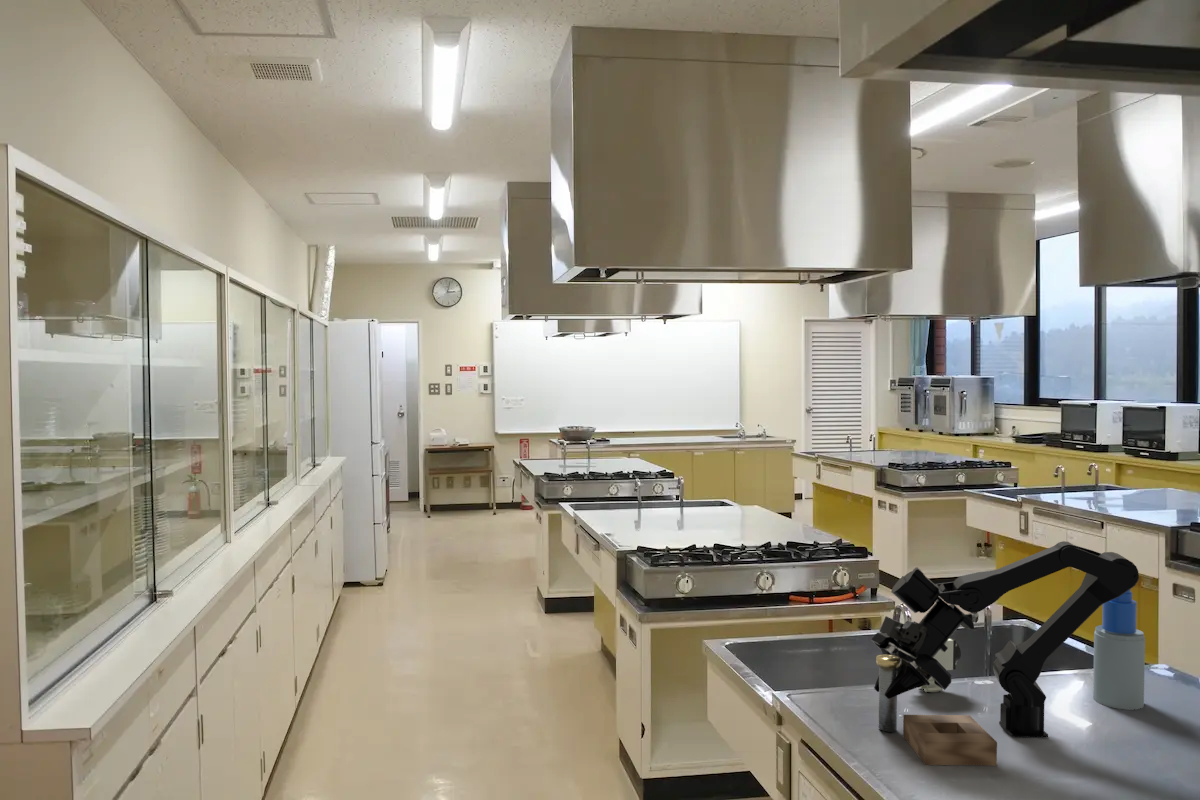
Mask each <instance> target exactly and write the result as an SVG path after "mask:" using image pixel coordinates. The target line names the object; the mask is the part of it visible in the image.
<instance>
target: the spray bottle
mask: <svg viewBox="0 0 1200 800" xmlns="http://www.w3.org/2000/svg"><path fill="white" fill-rule="evenodd" d="M1131 589H1132V588H1131ZM1131 589H1130V590H1128V591H1127V592H1125V593H1124V594H1122V595H1121V596H1120V597H1118V598H1115V599H1113V600H1111V601H1109V602H1106V603H1104V604H1102V617H1101V618H1102V623H1101V624H1100V625H1096V626H1095V630H1094V632H1093V675H1092V676H1093V683H1092V684H1093V687H1092V688H1093V691H1092V699H1093V700H1094V701H1095V702H1096V703H1098V704H1100V705H1103V706H1106V707H1109V708H1114V709H1118V710H1119V709H1120V710H1126V711H1128V710H1132V711H1134V709H1135V710H1140V708H1141V709H1143V708H1144V706H1145V674H1146V673H1145V667H1146V666H1145V663H1146V662H1145V661H1146V637H1145V634H1144V631H1141V629H1140V630H1139V629H1137V611H1138V610H1137V608H1138V605H1137V604H1138V602H1137V601H1136V600H1134V599H1133V592H1132V591H1131Z"/></svg>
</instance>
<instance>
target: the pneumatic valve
mask: <svg viewBox="0 0 1200 800" xmlns="http://www.w3.org/2000/svg"><path fill="white" fill-rule="evenodd" d="M945 646H946V647H947V648H948V649H947V650H946V651H945V652H943V651H941V650H939V651H938V653H937V654H936V655H935V656H934V657H933V658H934V659H936V660H937V661H938V662H939V663H940V664H941V665H942V666H943V667H944V668H945V669H946V670H947V671H953V670H956V666H957V662H959V661H960V659H961V655H962V652H961V651H962V650H961V647H960V644H959V643H958V642H957V640H956V639H955V638H952V637H950V638H949V639H948V641H947V642H946V643H945ZM906 657H908V656H906ZM914 661H915V660H914ZM934 681H935V680H934V679H933V678H932V677H931V678H930V679H929V680H928V682H929V683H930V685H924V686H921V687H918V689H919V690H923V689H924V690H923V691H924V693H927V692H931V693H940V692H939V691H941V692H942V691H943V689H942V688H940V687H938V686H937V685H936V684H935V683H934Z"/></svg>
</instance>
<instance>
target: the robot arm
mask: <svg viewBox="0 0 1200 800" xmlns="http://www.w3.org/2000/svg"><path fill="white" fill-rule="evenodd" d="M1067 568H1074V569H1076V570H1079V571H1081V572H1083V573H1085V576H1084V577H1083V579H1082V582H1081V583H1080V586H1079V588H1077V589H1076V590H1075V591H1074V592H1073V593H1072V594H1071V596H1069V598H1067V599H1066V601H1065V602H1064V603H1062V604H1061V606H1059V608H1057V609H1056V611H1054V612H1053V613H1052V615H1050V617H1048V618H1047V620H1046V621H1044V622H1043V624H1042V625H1041V626H1039V628H1038V629H1036V631H1034V632H1033V634H1032V635H1031V636H1029V638H1028V639H1026V640H1025V641H1024V642H1021V643H1019V644H1017V645H1016V644H1015V643H1014V642H1013V641H1012V640H1008V641H1007V643H1006V645H1005V646H1003V649H1001V650H1000V651H998V652H996V653H995V654H994V656H995V660H994V661H993V664H992V671H993V674H994V676H995V678H996V679H997V682H998V684H999V686H1001V688H1002V689H1003V690H1004V691H1005V692H1007V693H1008V694H1003V695H1002V697H1003V698H1002V699H1003V701H1002V702H1001V703H1000V708H999V709H1000V712H999V713H1000V714H999V715H1000V718H999V721H998V723H999V725H1000V726H1001V728H1003V729H1004V730H1005V731H1006V732H1007V733H1008V734H1009V735H1010V736H1011V737H1014V738H1049V734H1048V733H1047V731H1046V730H1045V702H1046V699H1047V695H1046V694H1045V693H1044V691H1043V690H1042V688H1041V687H1040V686H1039V684H1038V682H1037V680H1038V678H1039V677H1040V675H1041V673H1042V671H1043V667H1044V666H1045V663H1046V662H1047V660H1048V659H1049V658H1050V657H1051V656H1052V655H1053V654H1054V653H1055V652H1056V651H1057V650H1058V649H1059V648H1060V647H1061V646H1062V645H1063V644H1064V643H1065V641H1067V640H1068V639H1069V638H1070V637H1071V636H1072V635H1073V634H1074V632H1076V631H1077V630H1078V629H1079V628H1080V627H1081V626H1082V625H1083V624H1084V623H1085V622H1086V621H1087V620H1088V619H1089V618H1090V617H1091V616H1092V615H1093V614H1094V613H1095V612H1096V611H1097V610H1098V609H1099V608H1100V607H1101V606H1103V604H1104V603H1106V602H1109V601H1111V600H1113V599H1115V598H1118V597H1120V596H1121V595H1122V594H1124V593H1125V592H1127V591H1128V590H1130V589H1132V588H1134V587H1135V586H1136V585H1137V583H1138V582H1139V580H1140V577H1139V574H1140V573H1139V570H1138V567H1137V565H1135V564H1134V563H1133V561H1131V560H1130V559H1128V558H1126V557H1124V556H1123V555H1121V554H1120V553H1118V552H1117V553H1116V552H1113V551H1109V552H1107V551H1106V552H1102V553H1101V552H1099V551H1094V550H1093V549H1089V548H1085V547H1082V546H1079V545H1076V544H1073V543H1071V542H1069V541H1064V540H1063V541H1060V542H1059V541H1058V542H1056V544H1055V545H1053V546H1051V547H1048V548H1046V549H1043V550H1040V551H1038V552H1036V553H1033V554H1032V555H1028V556H1027V557H1024V558H1021V559H1019V560H1017V561H1014V562H1012V563H1009V564H1007V565H1005V566H1004V565H1003V566H1002V567H1000V568H997V569H993V570H985V571H977V572H972V573H969V574H964V575H960V576H958V577H957V578H955V579H954V580H953V581H949V582H947V581H946V582H941V583H934V582H933V581H932V580H931V579H930V578H928V577H927V576H926V575H925V574H924V573H923V571H922V570H921V569H920V568H919V567H915V568H914V569H912V570H911V571H909V572H908V573H906V574H905V575H903V576H900V577H901V578H899V579H898V580H897V581H896V582H895V584H894V585H893V586H892V589H891V593H892V595H894V596H895V597H896V598H897V599H898V600H899V601H900V602H902V603H903V604H904V605H905V606H906V607H907V608H908V609H909V610H911V611H912V612H913V613H914V614H916V613H920V614H925V613H926V612H927V613H926V614H925V615H924V616H923V618H922V619H921V620H920V621H919V622H916V621H909V620H907V621H905V622H904V623H903V622H900V621H898V620H895V619H894V618H891V617H889V616H886V615H885V616H884V619H883V622H882V624H881V627H880V629H879V631H878V632H876V634H874V636H873V637H872V638H871V639H870V641H871V642H872V643H873V644H874V645H875V646H876V647H877V648H878V649H879V650H880V652H881V653H882V654H887V655H894V656H897V657H899V658H900V666H899V667H897V676H896V678H895V679H894V680H893V682H892V683H891V685H890V686H889V687H888V689H887V691H886V692H885V696H886V697H887V698H888V699H890V698H892V697H895V696H897V697H898V696H899V695H902V694H904V693H906V692H910V691H912V690H914V689H917V688H918V687H921V686H924V685H930V683H929V682H928V680H929V679H930V678H931V677H932V678H933V679H934V680H935V681H934V683H935V684H936V685H937V686H938V687H940V688H942V690H944V691H946V690H947V688H948V687H949V686H950V685H951V684H952V674H951V673H950V671H949V670H946V669H945V668H944V667H943V666H942V665H941V664H940V663H939V662H938V661H937V660H936V659H934V658H933V657H934V656H935V655H936V654H937V653H938V651H939V650H941V651H943V652H945V651H946V650H947V649H948V648H947V647H946V646H945V643H946V642H947V641H948V639H949V638H952V636H953V635H954V633H955V632H956V631H957V630H958V629H959V628H960V627H962V628H964V629H967V630H974V629H975V625H974V621H973V613H979V612H981V611H983V610H984V609H986V608H988V607H989V606H991V605H993V604H995V603H996V602H997V601H998V600H999V599H1001V597H1003V595H1005V594H1006V593H1008V592H1010V591H1012V590H1015V589H1017V588H1020V587H1022V586H1025V585H1027V584H1029V583H1032V582H1035V581H1037V580H1039V579H1042V578H1045V577H1047V576H1049V575H1052V574H1054V573H1057V572H1059V571H1061V570H1064V569H1067ZM958 607H959V608H961V609H959V608H958ZM962 610H963V611H966V612H968V613H966V614H965V612H963V611H962ZM882 654H881V655H882ZM906 656H908V657H906ZM914 660H915V661H914ZM873 689H874V690H875V691H876V692H877V693H879V675H878V677H877V679H876V683H875V684H874V686H873ZM918 689H919V688H918Z"/></svg>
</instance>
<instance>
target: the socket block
mask: <svg viewBox="0 0 1200 800" xmlns="http://www.w3.org/2000/svg"><path fill="white" fill-rule="evenodd" d="M902 717H903V719H902V720H903V723H902V725H903V727H902V729H903V730H902V732H903V733H902V734H903V735H902V736H904V737H903V738H904V739H905V741H906V740H907V741H908V742H907V741H906V742H907V743H908V745H910V747H911V748H912V750H913V751H914V752H915V753H916V755H917V756H918V757H919V759H920V760H921V762H922V763H923V764H924V765H925V766H926V765H929V766H930V765H931V766H989V767H990V766H993V767H995V766H997V765H998V762H997V761H998V760H997V759H998V757H997V756H998V742H997V740H995V739H994V738H993V737H992V736H991V735H990V734H989V733H988V732H987V731H986V729H984V728H983V727H982V726H981V724H979V723H978V722H977V721H976V720H975V719H974V718H973V717H972V716H971V715H969V714H966V715H964V714H962V715H961V714H960V715H959V714H957V715H956V714H903V716H902Z"/></svg>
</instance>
